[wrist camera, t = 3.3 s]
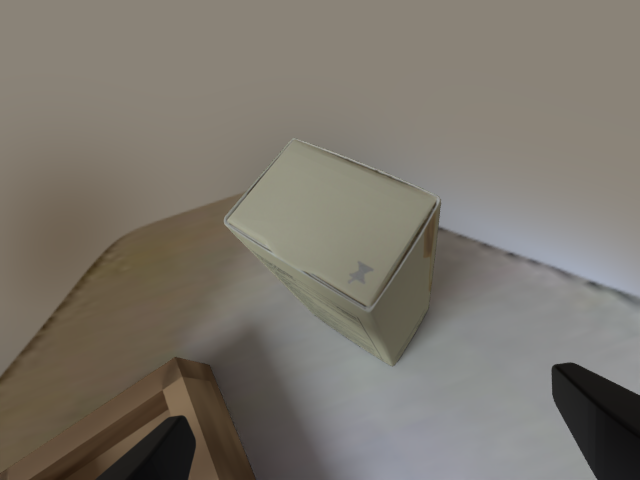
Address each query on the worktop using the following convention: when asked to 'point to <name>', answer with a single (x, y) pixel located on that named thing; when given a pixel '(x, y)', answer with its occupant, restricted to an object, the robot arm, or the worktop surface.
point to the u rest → (145, 429)
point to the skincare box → (344, 243)
